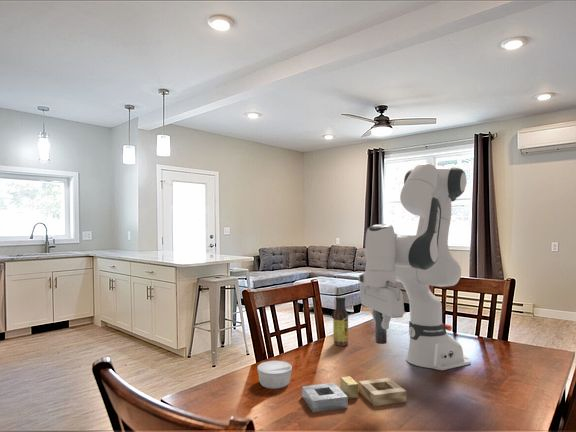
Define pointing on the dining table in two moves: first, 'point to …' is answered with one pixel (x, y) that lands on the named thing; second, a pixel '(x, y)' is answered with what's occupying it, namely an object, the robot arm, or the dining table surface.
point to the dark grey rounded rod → (379, 329)
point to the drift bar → (349, 387)
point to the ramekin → (274, 374)
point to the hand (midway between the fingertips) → (381, 326)
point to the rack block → (382, 391)
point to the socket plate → (324, 397)
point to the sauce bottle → (340, 322)
